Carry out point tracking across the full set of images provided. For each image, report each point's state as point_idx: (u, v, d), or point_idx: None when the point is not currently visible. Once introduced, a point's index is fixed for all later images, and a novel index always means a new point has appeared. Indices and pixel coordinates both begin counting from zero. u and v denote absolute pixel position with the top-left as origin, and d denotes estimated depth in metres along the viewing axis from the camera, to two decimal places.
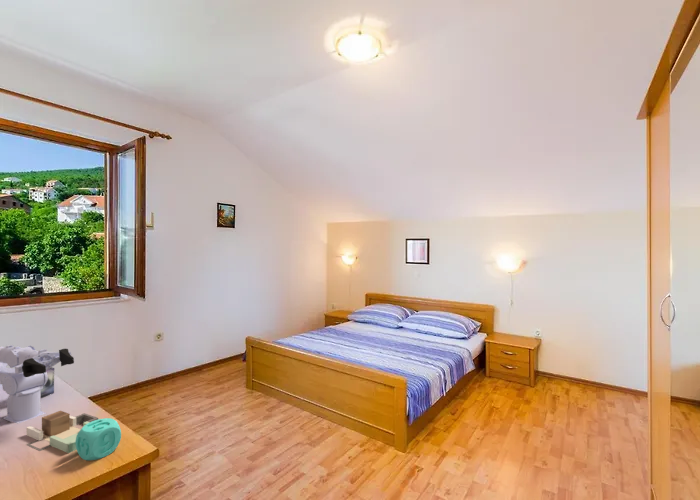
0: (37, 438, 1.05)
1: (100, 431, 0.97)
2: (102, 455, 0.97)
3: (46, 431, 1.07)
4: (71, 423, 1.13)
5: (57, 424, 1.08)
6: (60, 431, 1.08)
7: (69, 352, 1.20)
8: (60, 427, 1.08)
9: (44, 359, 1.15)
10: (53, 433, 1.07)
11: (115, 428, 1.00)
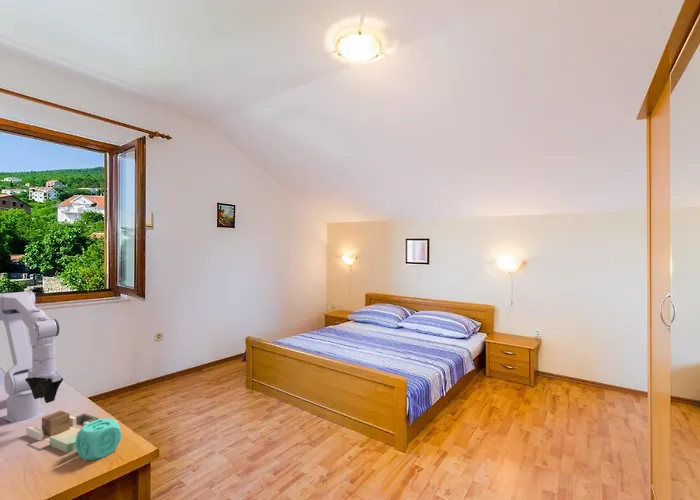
0: (37, 438, 1.05)
1: (100, 431, 0.97)
2: (102, 455, 0.97)
3: (46, 431, 1.07)
4: (71, 423, 1.13)
5: (57, 424, 1.08)
6: (60, 431, 1.08)
7: (53, 381, 1.08)
8: (60, 427, 1.08)
9: None
10: (53, 433, 1.07)
11: (115, 428, 1.00)
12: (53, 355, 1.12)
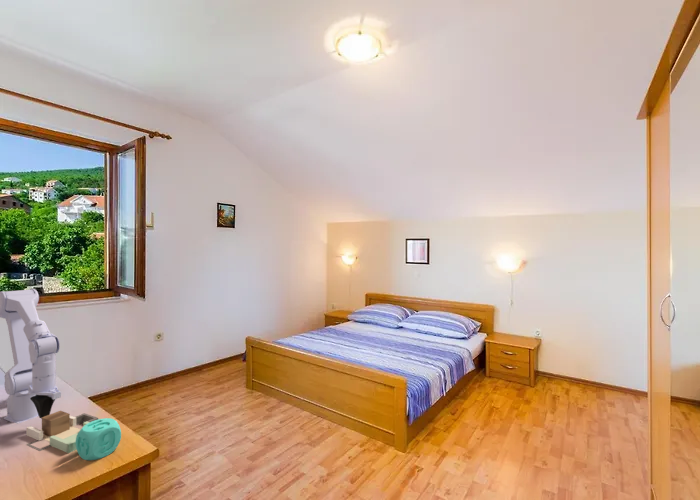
0: (37, 438, 1.05)
1: (100, 431, 0.97)
2: (102, 455, 0.97)
3: (46, 431, 1.07)
4: (71, 423, 1.13)
5: (57, 424, 1.08)
6: (60, 431, 1.08)
7: (53, 399, 1.08)
8: (60, 427, 1.08)
9: None
10: (53, 433, 1.07)
11: (115, 428, 1.00)
12: (53, 372, 1.12)
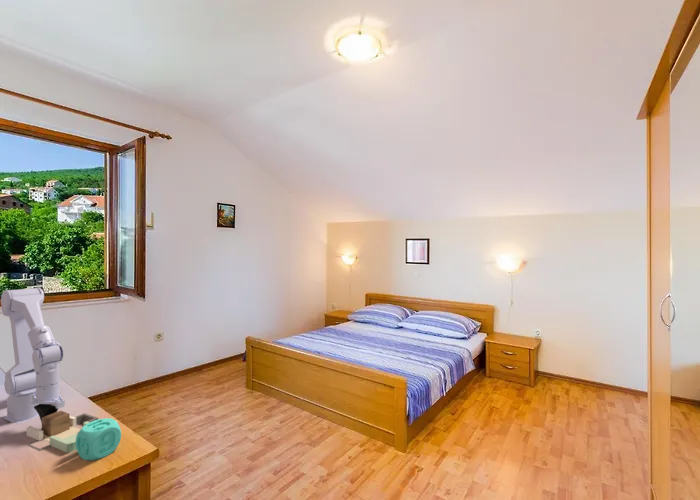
0: (37, 438, 1.05)
1: (100, 431, 0.97)
2: (102, 455, 0.97)
3: (46, 431, 1.07)
4: (71, 423, 1.13)
5: (57, 424, 1.08)
6: (60, 431, 1.08)
7: (56, 408, 1.08)
8: (60, 427, 1.08)
9: None
10: (53, 433, 1.07)
11: (115, 428, 1.00)
12: (57, 381, 1.11)
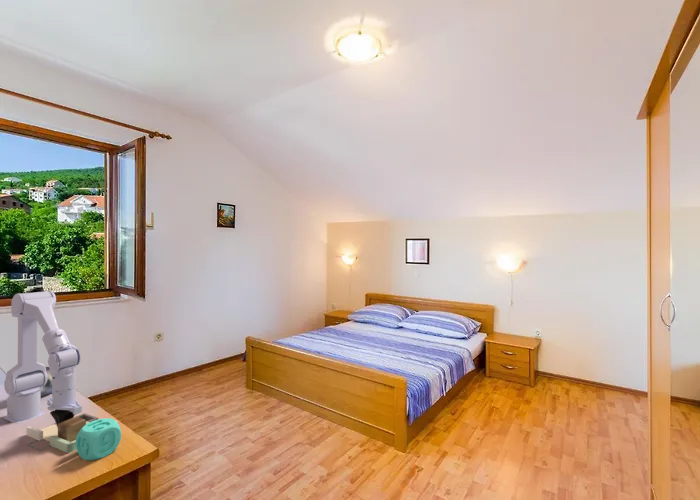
0: (37, 438, 1.05)
1: (100, 431, 0.97)
2: (102, 455, 0.97)
3: (63, 438, 1.03)
4: None
5: (73, 431, 1.04)
6: None
7: (74, 414, 1.04)
8: (76, 434, 1.05)
9: None
10: (69, 440, 1.03)
11: (115, 428, 1.00)
12: (74, 385, 1.08)
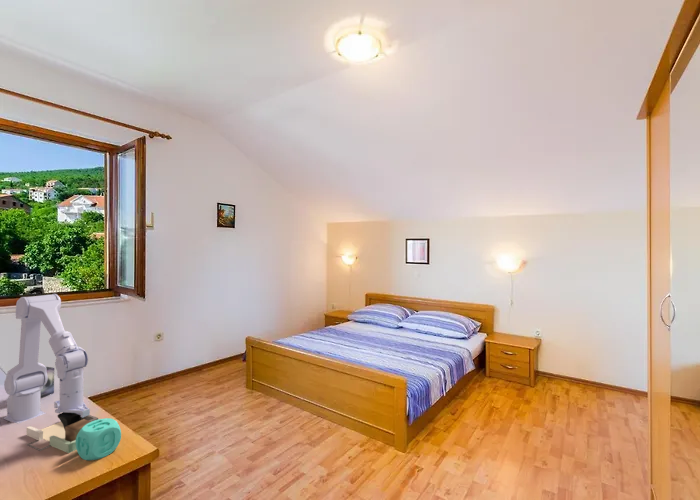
0: (37, 438, 1.05)
1: (100, 431, 0.97)
2: (102, 455, 0.97)
3: (70, 441, 1.02)
4: None
5: None
6: None
7: (81, 417, 1.02)
8: None
9: None
10: None
11: (115, 428, 1.00)
12: (81, 388, 1.06)
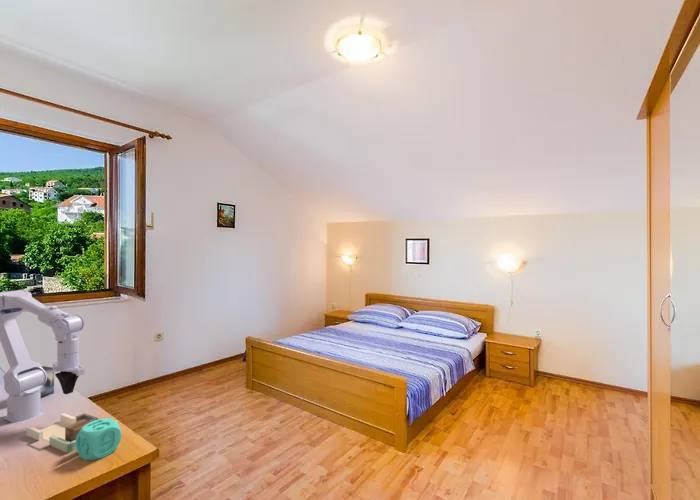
0: (37, 438, 1.05)
1: (100, 431, 0.97)
2: (102, 455, 0.97)
3: (70, 441, 1.02)
4: (71, 423, 1.13)
5: None
6: None
7: (77, 375, 1.12)
8: None
9: None
10: None
11: (115, 428, 1.00)
12: (78, 349, 1.17)
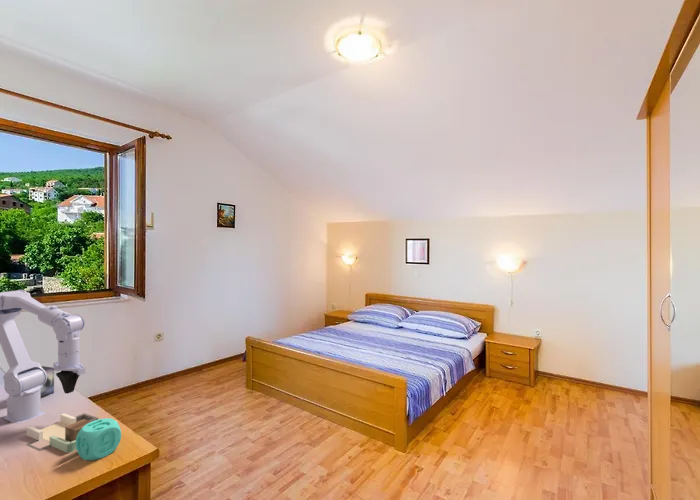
0: (37, 438, 1.05)
1: (100, 431, 0.97)
2: (102, 455, 0.97)
3: (70, 441, 1.02)
4: (71, 423, 1.13)
5: None
6: None
7: (78, 374, 1.13)
8: None
9: None
10: None
11: (115, 428, 1.00)
12: (79, 348, 1.18)
